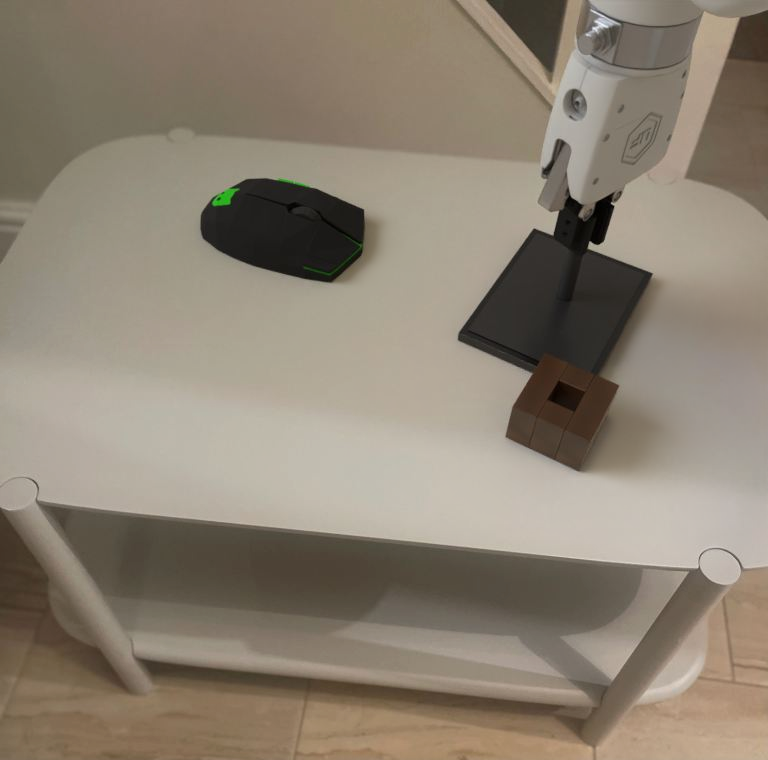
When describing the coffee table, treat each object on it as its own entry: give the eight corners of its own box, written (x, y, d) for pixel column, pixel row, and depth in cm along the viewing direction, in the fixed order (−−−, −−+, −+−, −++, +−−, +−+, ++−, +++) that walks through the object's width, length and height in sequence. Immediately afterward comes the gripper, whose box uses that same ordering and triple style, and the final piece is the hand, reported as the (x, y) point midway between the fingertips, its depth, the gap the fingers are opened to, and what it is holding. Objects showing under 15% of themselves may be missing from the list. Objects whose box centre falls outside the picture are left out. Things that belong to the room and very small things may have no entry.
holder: (607, 415, 64) (619, 384, 61) (578, 471, 60) (590, 442, 57) (536, 384, 66) (545, 352, 63) (504, 436, 62) (512, 406, 59)
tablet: (650, 280, 74) (653, 272, 73) (587, 397, 65) (589, 389, 64) (532, 234, 77) (533, 226, 76) (457, 339, 69) (458, 332, 68)
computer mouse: (233, 176, 82) (228, 144, 79) (383, 212, 79) (384, 179, 76) (180, 246, 75) (172, 213, 72) (342, 288, 72) (341, 256, 69)
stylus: (575, 293, 71) (604, 182, 62) (568, 303, 70) (597, 192, 61) (560, 287, 71) (586, 176, 62) (553, 297, 71) (579, 185, 61)
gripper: (602, 92, 47) (546, 309, 61) (755, 12, 53) (672, 225, 67) (511, 40, 50) (479, 257, 65) (664, -29, 56) (604, 182, 71)
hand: (578, 239), depth 66 cm, fingers closed on stylus, 1 cm apart
